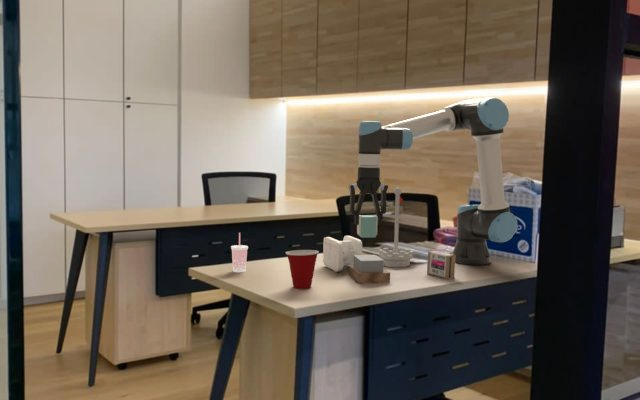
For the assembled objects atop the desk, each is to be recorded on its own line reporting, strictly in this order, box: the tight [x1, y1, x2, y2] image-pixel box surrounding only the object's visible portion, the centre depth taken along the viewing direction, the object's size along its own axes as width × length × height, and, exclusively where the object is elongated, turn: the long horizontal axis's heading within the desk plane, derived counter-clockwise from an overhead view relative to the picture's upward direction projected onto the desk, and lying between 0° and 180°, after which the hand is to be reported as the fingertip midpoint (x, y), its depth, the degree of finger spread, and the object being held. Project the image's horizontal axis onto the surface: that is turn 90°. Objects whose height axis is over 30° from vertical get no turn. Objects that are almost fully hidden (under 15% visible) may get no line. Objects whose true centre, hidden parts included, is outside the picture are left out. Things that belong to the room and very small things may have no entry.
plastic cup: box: [285, 249, 319, 290], centre depth 199 cm, size 11×11×12 cm
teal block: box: [358, 214, 377, 238], centre depth 211 cm, size 5×5×7 cm
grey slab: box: [353, 254, 385, 273], centre depth 213 cm, size 8×10×4 cm
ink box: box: [426, 250, 456, 280], centre depth 219 cm, size 10×4×8 cm, turn 37°
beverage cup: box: [230, 232, 249, 273], centre depth 221 cm, size 6×6×14 cm
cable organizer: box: [322, 235, 363, 273], centre depth 228 cm, size 15×11×12 cm
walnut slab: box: [348, 266, 391, 285], centre depth 213 cm, size 11×13×4 cm
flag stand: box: [378, 187, 414, 268], centre depth 238 cm, size 13×13×30 cm
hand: (367, 234), depth 211 cm, fingers closed on teal block, 5 cm apart
